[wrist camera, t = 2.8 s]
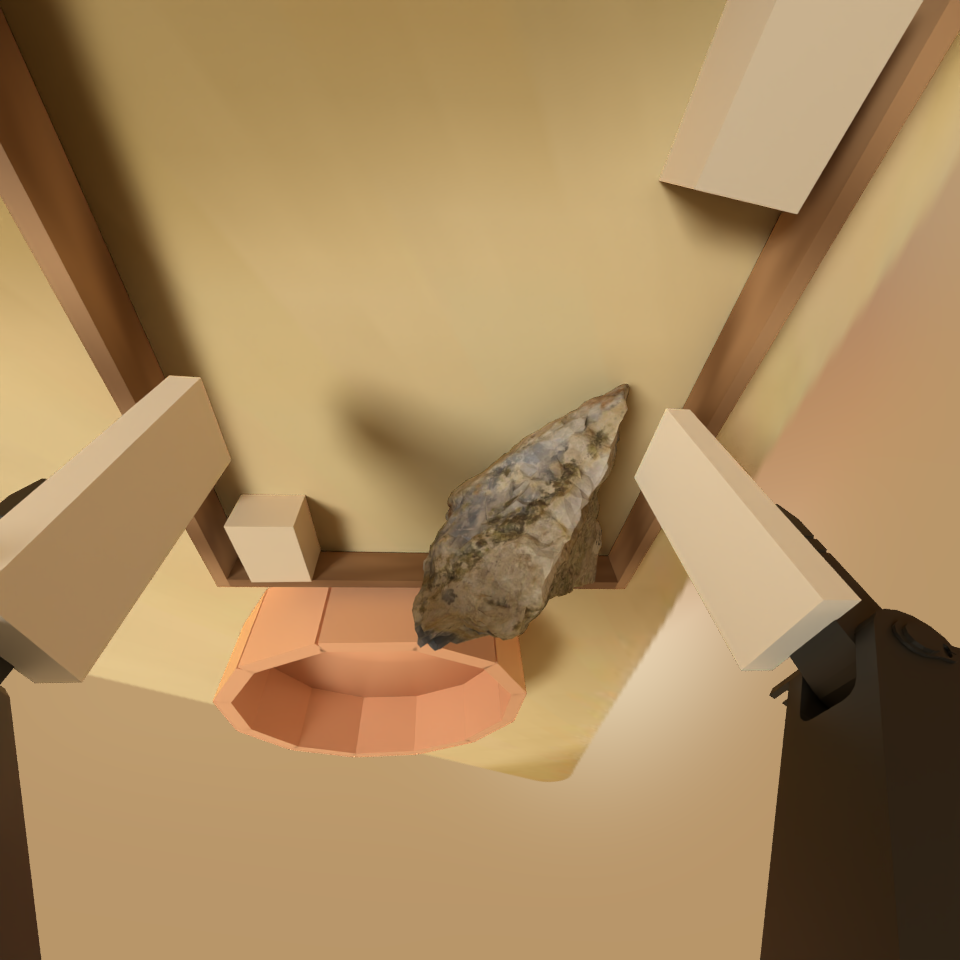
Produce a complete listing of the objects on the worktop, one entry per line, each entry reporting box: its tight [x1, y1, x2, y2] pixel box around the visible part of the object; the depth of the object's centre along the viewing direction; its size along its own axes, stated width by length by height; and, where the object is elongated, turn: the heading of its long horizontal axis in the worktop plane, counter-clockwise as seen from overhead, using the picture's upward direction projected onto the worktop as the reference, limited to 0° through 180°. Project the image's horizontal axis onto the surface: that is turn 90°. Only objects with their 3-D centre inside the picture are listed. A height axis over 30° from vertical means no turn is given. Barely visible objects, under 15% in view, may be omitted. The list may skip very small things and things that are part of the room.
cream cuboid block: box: [224, 494, 321, 582], centre depth 19 cm, size 4×3×2 cm
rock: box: [412, 384, 629, 651], centre depth 16 cm, size 11×6×10 cm
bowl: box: [213, 587, 526, 757], centre depth 26 cm, size 18×18×4 cm
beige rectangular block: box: [659, 0, 923, 214], centre depth 10 cm, size 4×3×2 cm
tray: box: [0, 0, 960, 589], centre depth 14 cm, size 23×21×2 cm
